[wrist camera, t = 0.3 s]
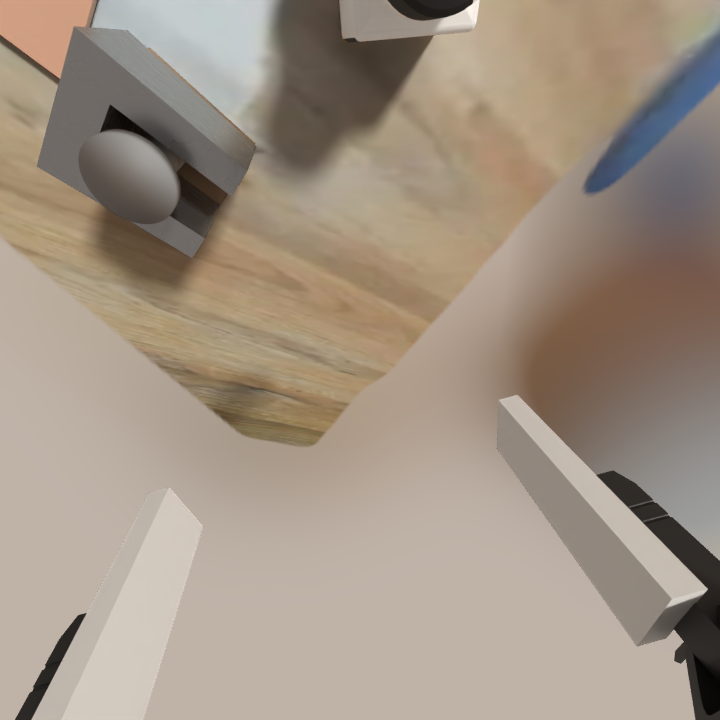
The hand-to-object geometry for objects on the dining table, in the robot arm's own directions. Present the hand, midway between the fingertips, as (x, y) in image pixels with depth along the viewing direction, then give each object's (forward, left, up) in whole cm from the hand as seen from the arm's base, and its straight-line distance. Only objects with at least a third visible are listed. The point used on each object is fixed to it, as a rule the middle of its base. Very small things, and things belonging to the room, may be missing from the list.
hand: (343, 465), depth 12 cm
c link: (+1, -11, -21) cm, 24 cm away
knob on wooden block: (+1, -11, -26) cm, 29 cm away
